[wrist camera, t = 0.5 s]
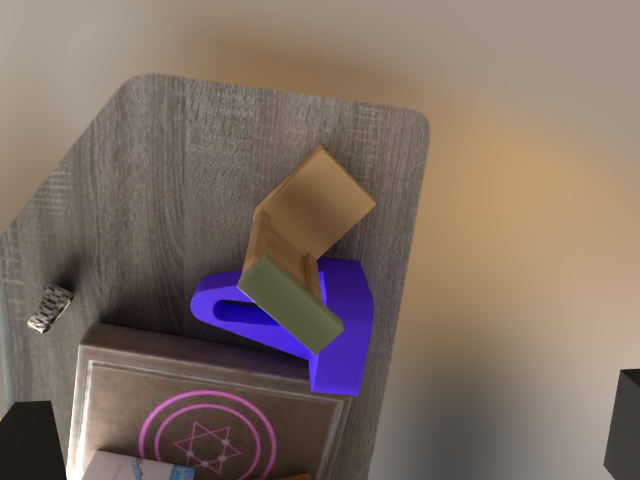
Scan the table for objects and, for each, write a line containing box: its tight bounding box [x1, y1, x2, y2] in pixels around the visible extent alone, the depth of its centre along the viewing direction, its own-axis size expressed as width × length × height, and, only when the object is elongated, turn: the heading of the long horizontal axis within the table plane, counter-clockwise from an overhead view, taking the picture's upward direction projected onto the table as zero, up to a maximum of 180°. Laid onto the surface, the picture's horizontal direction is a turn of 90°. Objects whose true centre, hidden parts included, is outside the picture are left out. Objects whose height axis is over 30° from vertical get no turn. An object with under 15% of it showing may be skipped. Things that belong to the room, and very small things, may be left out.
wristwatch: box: [26, 284, 74, 334], centre depth 58 cm, size 3×5×5 cm
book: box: [66, 323, 354, 480], centre depth 63 cm, size 30×22×5 cm
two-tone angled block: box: [238, 144, 376, 355], centre depth 48 cm, size 10×8×22 cm
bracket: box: [191, 257, 373, 396], centre depth 56 cm, size 18×11×12 cm, turn 82°
